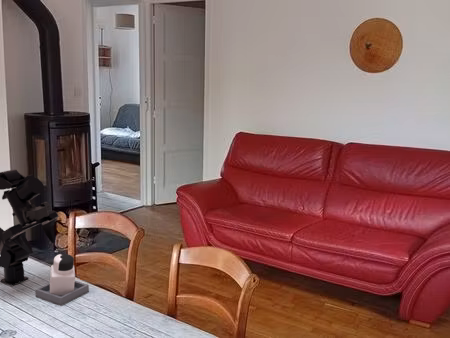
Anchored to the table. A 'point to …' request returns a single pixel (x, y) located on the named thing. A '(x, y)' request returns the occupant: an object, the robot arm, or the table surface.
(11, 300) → the table surface
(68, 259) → the medicine bottle
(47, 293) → the charcoal tray
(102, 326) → the table surface
